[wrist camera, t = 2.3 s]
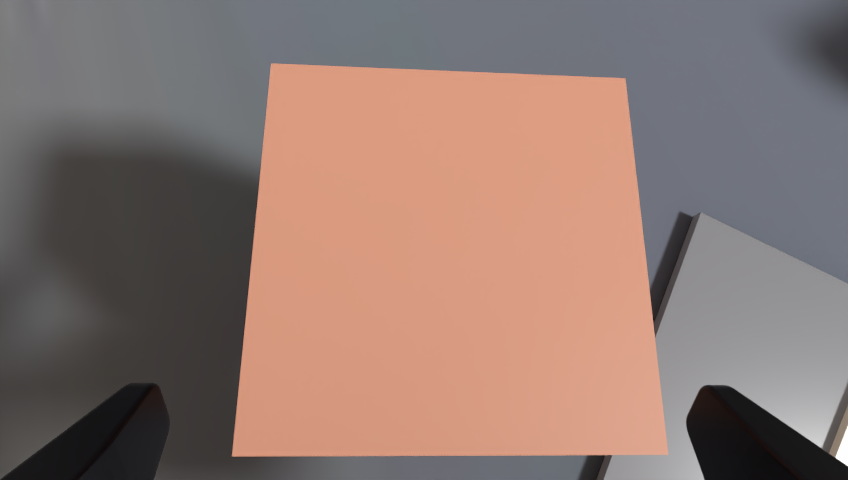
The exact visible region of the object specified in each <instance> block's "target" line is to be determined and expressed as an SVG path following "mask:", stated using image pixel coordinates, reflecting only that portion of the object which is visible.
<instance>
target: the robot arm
mask: <svg viewBox="0 0 848 480" xmlns="http://www.w3.org/2000/svg"><path fill="white" fill-rule="evenodd" d="M169 423H170V421H169V415H168V412H167V408H166V405H165V402H164V399H163V396H162V393H161V390H160V388H159V386H158V385H157V384H155V383H130V384H128V385H126V386H124V387H123V388H121V389H120V390H119V391H117V392H116V393H115V394H113V395H112V396H111V397H109V398H108V399H107V400H105V401H104V402H103V403H101V404H100V405H99V406H97V407H96V408H95V409H93V410H92V411H91V412H89V413H88V414H87V415H85V416H84V417H83V418H81V419H80V420H79V421H77V422H76V423H75V424H73V425H72V426H71V427H69V428H68V429H67V430H65V431H64V432H63V433H61V434H60V435H59V436H57V437H56V438H55V439H53V440H52V441H51V442H49V443H48V444H47V445H45V446H44V447H43V448H41V449H40V450H39V451H37V452H36V453H35V454H34V455H32V456H31V457H30V458H28V459H27V460H26V461H24V462H23V463H22V464H20V465H19V466H18V467H16V468H15V469H14V470H12V471H11V472H10V473H8V474H7V475H6V476H4V477H3V478H2V479H0V480H154V477H155V474H156V471H157V467H158V464H159V461H160V457H161V454H162V451H163V448H164V444H165V441H166V438H167V435H168V431H169ZM686 427H687V432H688V435H689V438H690V440H691V443H692V446H693V449H694V452H695V454H696V457H697V460H698V463H699V466H700V468H701V471H702V474H703V477H704V480H848V466H847V465H845V464H844V463H842V462H841V461H840V460H838V459H837V458H835V457H834V456H832V455H831V454H829V453H828V452H826V451H825V450H823V449H822V448H820V447H819V446H818V445H816V444H815V443H813V442H812V441H810V440H809V439H807V438H806V437H804V436H803V435H801V434H800V433H798V432H797V431H796V430H794V429H793V428H791V427H790V426H788V425H787V424H785V423H784V422H782V421H781V420H779V419H778V418H776V417H775V416H774V415H772V414H771V413H769V412H768V411H766V410H765V409H763V408H762V407H760V406H759V405H757V404H756V403H754V402H753V401H752V400H750V399H749V398H747V397H746V396H744V395H743V394H741V393H740V392H738V391H737V390H735V389H734V388H732V387H730V386H727V385H704V386H703V387H701V388H700V390H699V391H698V394H697V396H696V398H695V400H694V402H693V404H692V406H691V408H690V410H689V412H688V415H687V418H686Z"/></svg>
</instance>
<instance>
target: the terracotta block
mask: <svg viewBox="0 0 848 480" xmlns="http://www.w3.org/2000/svg"><path fill="white" fill-rule="evenodd" d="M502 455H668V447H667V438H666V429H665V421H664V412H663V403H662V394H661V386H660V377H659V368H658V359H657V351H656V342H655V333H654V324H653V316H652V307H651V298H650V290H649V281H648V272H647V263H646V255H645V246H644V237H643V228H642V220H641V211H640V202H639V193H638V185H637V176H636V167H635V158H634V150H633V141H632V132H631V124H630V115H629V106H628V97H627V89H626V80H625V78H602V77H579V76H555V75H531V74H508V73H484V72H460V71H436V70H413V69H389V68H365V67H341V66H318V65H294V64H271V71H270V81H269V91H268V101H267V111H266V121H265V131H264V141H263V151H262V161H261V171H260V181H259V191H258V201H257V211H256V221H255V231H254V241H253V251H252V261H251V271H250V281H249V291H248V301H247V311H246V321H245V331H244V341H243V351H242V361H241V371H240V381H239V391H238V401H237V411H236V421H235V431H234V441H233V451H232V457H243V456H502Z"/></svg>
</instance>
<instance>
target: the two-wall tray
mask: <svg viewBox="0 0 848 480" xmlns="http://www.w3.org/2000/svg"><path fill="white" fill-rule="evenodd" d="M654 333H655V342H656V351H657V359H658V368H659V377H660V386H661V394H662V403H663V412H664V421H665V429H666V438H667V447H668V455H605V457H604V460H603V463H602V466H601V468H600V471H599V474H598V476H597V479H596V480H704V477H703V474H702V471H701V468H700V466H699V463H698V460H697V457H696V454H695V452H694V449H693V446H692V443H691V440H690V438H689V435H688V432H687V427H686V418H687V415H688V412H689V410H690V408H691V406H692V404H693V402H694V400H695V398H696V396H697V394H698V391H699V390H700V388H701V387H703V386H704V385H727V386H730V387H732V388H734V389H735V390H737V391H738V392H740V393H741V394H743V395H744V396H746V397H747V398H749V399H750V400H752V401H753V402H754V403H756V404H757V405H759V406H760V407H762V408H763V409H765V410H766V411H768V412H769V413H771V414H772V415H774V416H775V417H776V418H778V419H779V420H781V421H782V422H784V423H785V424H787V425H788V426H790V427H791V428H793V429H794V430H796V431H797V432H798V433H800V434H801V435H803V436H804V437H806V438H807V439H809V440H810V441H812V442H813V443H815V444H816V445H818V446H819V447H820V448H822V449H823V450H825V451H826V452H828V453H829V454H831V455H832V456H834V457H835V458H837V459H838V460H840V461H841V462H842V463H844V464H845V465H847V466H848V284H847V283H845V282H843V281H841V280H839V279H837V278H835V277H833V276H831V275H829V274H827V273H825V272H823V271H821V270H819V269H817V268H814V267H812V266H810V265H808V264H806V263H804V262H802V261H800V260H798V259H796V258H794V257H792V256H790V255H788V254H786V253H784V252H781V251H779V250H777V249H775V248H773V247H771V246H769V245H767V244H765V243H763V242H761V241H759V240H757V239H755V238H753V237H751V236H748V235H746V234H744V233H742V232H740V231H738V230H736V229H734V228H732V227H730V226H728V225H726V224H724V223H722V222H720V221H718V220H715V219H713V218H711V217H709V216H707V215H705V214H703V213H699V214H697V215H695V216H693V219H692V221H691V224H690V227H689V230H688V232H687V235H686V238H685V240H684V243H683V246H682V249H681V251H680V254H679V257H678V259H677V262H676V265H675V268H674V270H673V273H672V276H671V278H670V281H669V284H668V287H667V289H666V292H665V295H664V297H663V300H662V303H661V306H660V308H659V311H658V314H657V316H656V319H655V322H654Z"/></svg>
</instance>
